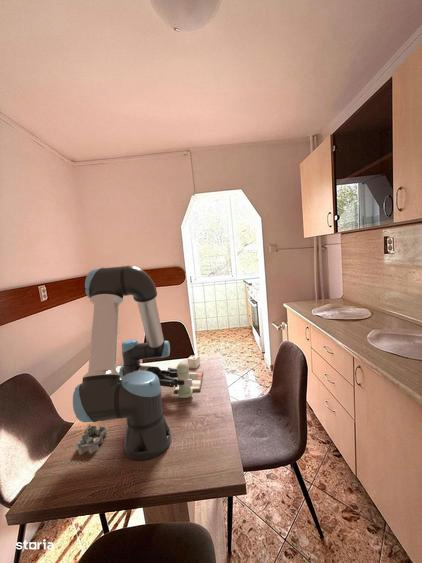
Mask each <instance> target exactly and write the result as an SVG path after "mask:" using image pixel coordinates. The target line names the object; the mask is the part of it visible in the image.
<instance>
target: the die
mask: <svg viewBox="0 0 422 563" xmlns="http://www.w3.org/2000/svg"><path fill="white" fill-rule="evenodd" d="M187 364H188V366H189V369H197V368H198V367H199V366H201V359H200V355H190V356H189V357H188V358H187Z"/></svg>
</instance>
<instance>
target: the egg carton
mask: <svg viewBox="0 0 422 563" xmlns="http://www.w3.org/2000/svg"><path fill="white" fill-rule="evenodd" d="M107 428H108V425H103V426H101V425H100V426H99V427H97V426H96V425H91V424H88V425H87V427H86V428H85V430H84V433H83V434H82V435H81V437H80V439H79V440H78V441H77V443H76V446H74V449H77V453H78V455H83V454H84V453H87V452H88V453H89V454H93V453H95V452H98V451H99V449H100V447H99V445H101V444H103V442H104V438H106V437H107V436H108V433H107ZM93 434H95V437H92V436H93Z"/></svg>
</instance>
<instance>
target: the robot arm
mask: <svg viewBox="0 0 422 563" xmlns="http://www.w3.org/2000/svg"><path fill="white" fill-rule="evenodd" d="M84 288H85V290H84V291H85V294H86V297H87V298H88V299H90V300H89V301H90V303H92V304H93V314H92V325H91V326H92V327H91V335H90V336H91V337H90V349H89V360H88V371H87V372H86V373H85V375H83V376H82V382H81V383H79V384H77V385H76V386H75V388H74V391H73V394H72V408H73V409H72V410H73V412H74V415H75V417H76V419H77V420H78V421H80V423H97V422H105V421H113V420H119V419H120V420H121V419H126V425H127V427H126V431H125V436H124V440H123V447H124V448H123V449H124V453H125V455H126V456H127V457H128V458H130V460H131V459H132V460H134V461H146V460H151V459H153V458H156V457H158V456H159V455H161V454H162V453H164V452H165V451H166V450H167V449H168V448H169V446H170V445H171V442H172V432H171V428H170V426H169V424H168V422H167V420H166V418H165V416H164V408H163V399H162V387H166V388H175V387H178V386H177V385H184V386H192V380H198V373H189V376H190V379H184V378H178V374H177V368H173V367H168V368H167V369H164V370H162V369H161V368H160V367H158V366H151V365H142V364H141V360H150V359H162V358H166V357H170V353H171V346H170V345H171V344H170V341H169V340H164V339H165V338H164V334H163V330H162V323H161V318H160V314H159V308H158V304H157V299H156V298H157V296H158V292H157V286H156V284H155V283H154V281H153V279H152V278H151V276H150V275H149V274H148V272H146V271H144V270H143V269H141V268H140V267H138V266H135V265H125V266H124V265H123V266H121V265H120V266H112V267H99V268H93V269H91V270H90V271H89V272H88V274H87V275H86V278H85V281H84ZM125 296H132V297H133V300H134V301H135V302H136V303H137V306H138V307H137V308H138V311H139V314H140V318H141V323H142V327H143V330H144V335H145V339H146V342H141V343H139V341H138V340H137V339H135V338H134V339H133V338H130V339H126V340H124V341H122V343H121V356H122V363H123V364H122V365H121V366H120V367H119V372H118V371H117V370H116V369H117V367H116V366H117V365H116V364H117V350H118V349H117V348H118V347H117V346H118V324H119V321H118V320H119V306H120V305H121V304H122V303H123V302H124V297H125Z"/></svg>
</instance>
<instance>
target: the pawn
mask: <svg viewBox="0 0 422 563" xmlns="http://www.w3.org/2000/svg"><path fill="white" fill-rule="evenodd" d="M176 369H177V374H178V378H184V379H190V376H189V372H190V368H189V366H188V362H186V361H181V362H179V363H178V364H177V366H176ZM178 378H177V379H178ZM193 394H194V392H193V391H192V389H191V387H190V386H184V385H179V391H178V393H177V396H178V398H180V399H187V398H190V397H191V396H192V395H193Z"/></svg>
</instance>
